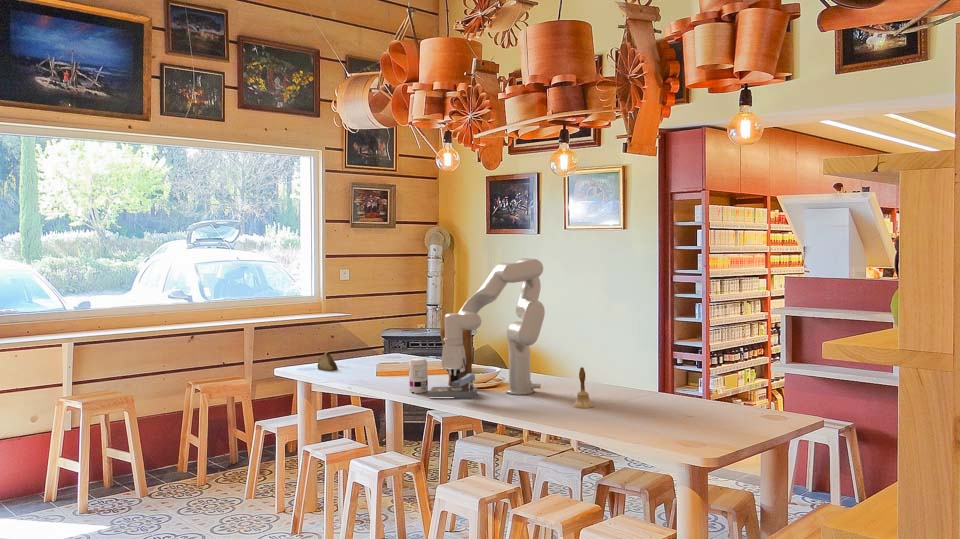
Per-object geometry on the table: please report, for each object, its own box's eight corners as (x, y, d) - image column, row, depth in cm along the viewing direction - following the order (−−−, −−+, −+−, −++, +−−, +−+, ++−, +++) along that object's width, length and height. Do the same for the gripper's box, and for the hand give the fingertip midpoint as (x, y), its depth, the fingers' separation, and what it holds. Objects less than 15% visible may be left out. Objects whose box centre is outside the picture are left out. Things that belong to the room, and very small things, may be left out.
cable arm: (468, 378, 348) (468, 373, 348) (476, 379, 347) (476, 373, 346) (451, 388, 329) (451, 382, 329) (459, 388, 328) (458, 382, 328)
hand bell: (577, 409, 315) (577, 370, 314) (570, 404, 323) (569, 366, 322) (596, 407, 317) (596, 368, 316) (588, 403, 325) (588, 365, 324)
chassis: (477, 393, 348) (476, 379, 347) (475, 398, 338) (474, 384, 337) (432, 393, 350) (432, 379, 349) (429, 398, 340) (429, 384, 339)
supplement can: (406, 393, 352) (405, 360, 351) (416, 389, 359) (415, 357, 358) (421, 394, 348) (420, 361, 347) (431, 390, 355) (430, 358, 355)
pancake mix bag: (468, 390, 354) (466, 329, 352) (439, 385, 367) (438, 326, 366) (478, 388, 359) (477, 327, 357) (450, 382, 372) (448, 324, 370)
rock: (311, 365, 415) (319, 365, 407) (319, 351, 418) (327, 350, 410) (327, 375, 420) (335, 375, 412) (335, 361, 423) (343, 361, 415)
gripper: (434, 342, 336) (435, 384, 337) (463, 344, 328) (463, 387, 329) (444, 339, 342) (445, 381, 343) (473, 342, 334) (473, 384, 335)
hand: (454, 384), depth 336 cm, fingers closed
